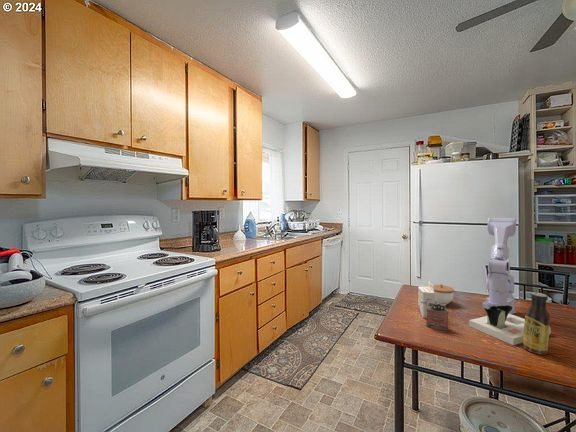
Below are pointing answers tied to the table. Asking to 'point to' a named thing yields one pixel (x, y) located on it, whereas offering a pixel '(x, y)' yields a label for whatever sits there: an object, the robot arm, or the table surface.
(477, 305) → the table surface
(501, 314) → the peg
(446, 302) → the lidded jar
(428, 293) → the ink cartridge box
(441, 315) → the lighter
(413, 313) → the table surface
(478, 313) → the table surface
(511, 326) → the slot board
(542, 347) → the sauce bottle
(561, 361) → the table surface
